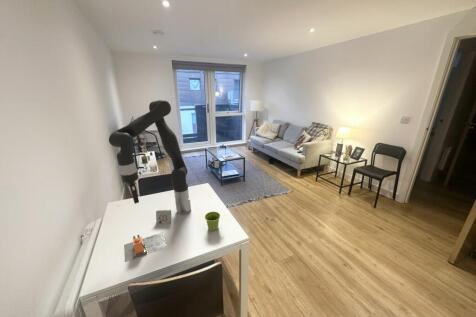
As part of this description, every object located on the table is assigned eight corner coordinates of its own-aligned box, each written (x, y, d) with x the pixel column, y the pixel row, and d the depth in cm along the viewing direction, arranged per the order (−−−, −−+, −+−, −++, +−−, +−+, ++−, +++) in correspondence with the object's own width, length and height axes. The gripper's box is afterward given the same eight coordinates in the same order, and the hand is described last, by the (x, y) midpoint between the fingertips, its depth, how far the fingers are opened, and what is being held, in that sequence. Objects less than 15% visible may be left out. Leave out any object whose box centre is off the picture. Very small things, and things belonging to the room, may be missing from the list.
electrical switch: (156, 225, 125) (154, 212, 122) (159, 221, 130) (157, 208, 127) (171, 225, 125) (169, 212, 122) (173, 221, 130) (172, 208, 127)
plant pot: (202, 230, 120) (201, 218, 117) (209, 221, 128) (209, 210, 125) (216, 234, 117) (216, 222, 114) (223, 224, 125) (222, 213, 122)
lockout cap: (143, 247, 105) (141, 236, 103) (144, 252, 102) (141, 240, 99) (135, 250, 103) (132, 238, 101) (135, 255, 100) (133, 243, 98)
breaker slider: (140, 241, 110) (138, 233, 108) (141, 245, 107) (139, 237, 105) (134, 243, 108) (132, 235, 107) (135, 247, 105) (133, 239, 103)
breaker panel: (163, 234, 117) (162, 230, 116) (167, 248, 107) (166, 244, 106) (124, 246, 108) (123, 243, 107) (125, 264, 97) (124, 260, 96)
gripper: (119, 169, 104) (126, 196, 109) (121, 178, 92) (129, 207, 98) (134, 165, 108) (140, 191, 113) (139, 174, 96) (145, 202, 102)
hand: (135, 199), depth 106 cm, fingers open, 8 cm apart
